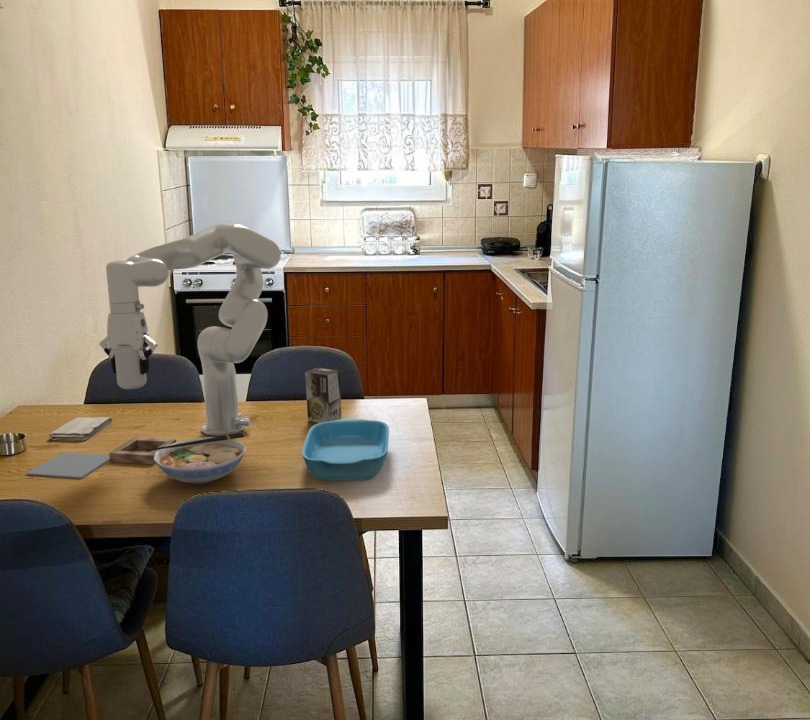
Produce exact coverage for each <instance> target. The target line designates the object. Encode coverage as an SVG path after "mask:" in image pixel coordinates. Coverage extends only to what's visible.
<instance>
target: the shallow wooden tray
mask: <svg viewBox="0 0 810 720" xmlns="http://www.w3.org/2000/svg"><path fill="white" fill-rule="evenodd" d="M175 442H177V439H172V438H168V439H167V438H152V437H137V436H136V437H135V436H133V437H132V438H131V439H129V440H128V441H126V442H124V443H123V444H121V445H119V446H118V447H116V448H115V449H113V450H112V451H110V452H109V453H108V455H109V456H110V461H109V462H111V463H123V464H124V463H127V464H144V465H156V462H155V460H154V456H155V453H156V452H157V451H158V450H152V451H150V452H149V451H145V452H144V451H137V449H143V450H149V449H154V448H160V447H165V446H167V445H170V444H173V443H175ZM135 450H136V451H135ZM159 450H160V449H159ZM132 451H133V452H132Z"/></svg>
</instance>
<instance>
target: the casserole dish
mask: <svg viewBox="0 0 810 720" xmlns="http://www.w3.org/2000/svg"><path fill="white" fill-rule="evenodd" d="M389 438H390V427H389V425H388V424H387V423H386V422H384V421H380V420H373V419H372V420H371V419H362V418H342V419H340V420H335V421H328V422H322V423H316V424H314V425H312V426H311V427H310V428H309V430H308V431H307V434H306V437H305V440H304V443H303V446H302V450H301V451H302V452H301V455H302V458H303V460H304V463H305V466H306V468H307V470H308V472H309V474H310V475H311V476H312V477H313V478H315V479H317V480H319V481H324V482H325V481H326V482H329V481H330V482H331V481H332V482H333V481H335V482H337V481H340V482H341V481H348V482H349V481H366V480H370V479H373V478H374V477H376V476H377V475H378V474H379V473H381V471H382V469H383V467H384V464H385V461H386V457H387V453H388V450H389Z"/></svg>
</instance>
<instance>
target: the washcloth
mask: <svg viewBox="0 0 810 720" xmlns="http://www.w3.org/2000/svg"><path fill="white" fill-rule="evenodd" d="M112 422H113V419H112V417H110V416H107V417H104V416H100V417H80V416H79V417H75V418H73V419H72V420H69V421H68V422H66V423H65V424H62V425H61V426H59V427H58V428H57V429H54V430H53V431H50V432H49V434H48V437H50V438H49V440H50V439H56V440H57V439H58V440H73V441H72V442H85V441H86V440H89V439H90V437H91V438H93V437H94V436H95V435H97V434H98V432H99V433H100V432H101V431H103V430H105V429H106V428H107V427H109V426H110V425H112ZM108 425H109V426H108ZM106 426H107V427H106ZM105 427H106V428H105ZM84 440H85V441H84Z"/></svg>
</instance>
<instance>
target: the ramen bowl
mask: <svg viewBox="0 0 810 720" xmlns="http://www.w3.org/2000/svg"><path fill="white" fill-rule="evenodd" d="M241 438H245V434H244V433H243V432H238V433H234V434H230V435H221V436H215V437H214V436H213V437H211V436H210V437H209V436H207V437H194V438H189V439H188V438H187V439H185V440H184V439H183V440H180V441H176V442H175V443H173V444H170V445H167V446H165V447H160V448H154V449H145V450H146V451H145V452H149V451H150V452H152V451H153V450H158V451H157V452H156V453H155V456H154V460H155V462H156V463H155V465H157V466H158V467H159V469H161V471H163V472H164V473H165V474H166V475H168V476H169V477H170V479H173V480H176V481H178V482H181V483H182V482H183V483H189V484H193V485H203V484H209V483H212V482H214V481H216V480H220V479H221V478H223V477H225V476H228V475H229V474H230V473H232V472H233V471H234V470H235V469H236V468H237V467H238V465H239V464H240V462H241V461H242V459H244V458H243V457H244V456H245V453H246V445H245V444H244V443H242V442H241V441H239V440H236V439H241ZM159 449H160V450H159Z"/></svg>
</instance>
